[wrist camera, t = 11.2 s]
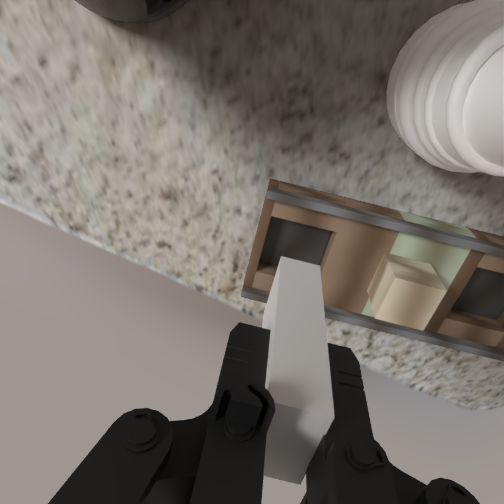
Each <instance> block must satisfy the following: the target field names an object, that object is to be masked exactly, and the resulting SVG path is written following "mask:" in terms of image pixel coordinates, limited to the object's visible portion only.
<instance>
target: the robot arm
mask: <svg viewBox="0 0 504 504" xmlns="http://www.w3.org/2000/svg"><path fill="white" fill-rule="evenodd" d="M75 1H77V2H78V3H79V4H81V5H82V6H84V7H85V8H87V9H89V10H91V11H92V12H94V13H96V14H98V15H101V16H103V17H106V18H109V19H113V20H118V21H125V22H133V23H143V22H151V21H155V20H158V19H161V18H164V17H166V16H168V15H170V14H172V13H174V12H175V11H176V10H178V9H179V8H180V7H182V6H183V5H184V4H185V3H186V2H187V1H188V0H75ZM361 377H362V376H361V370H360V365H359V361H358V360H357V358H356V357H355V355H354V354H353V352H352V350H351V349H350V348H347V347H343V346H339V345H335V344H330V343H327V333H326V323H325V312H324V302H323V292H322V281H321V271H320V266H319V265H315V264H311V263H307V262H303V261H299V260H295V259H291V258H287V257H283V256H281V258H280V261H279V264H278V268H277V271H276V274H275V278H274V281H273V284H272V288H271V291H270V294H269V298H268V301H267V304H266V308H265V311H264V317H263V324H262V328H260V327H256V326H252V325H248V324H244V323H238V325H237V326H236V327H235V328H234V329H233V330H232V331H231V332H230V335H229V340H228V343H227V348H226V351H225V355H224V359H223V364H222V368H221V372H220V376H219V380H218V384H217V388H216V393H215V397H214V401H213V404H212V405H211V406H210V408H209V409H208V410H207V411H206V412H204V413H203V414H202V415H200V416H198V417H195V418H193V419H188V420H179V421H169V420H168V418H167V417H165V416H164V415H163V414H162V413H160V412H159V411H156V410H152V409H149V408H142V409H134V410H132V411H130V412H127V413H124V414H123V415H122V416H121V417H119V418H118V419H117V420H116V421H115V422H114V423H113V424H112V425H111V427H110V428H109V429H108V430H107V432H106V433H105V434H104V435H103V436H102V438H101V439H100V440H99V442H98V443H97V444H96V445H95V446H94V448H93V449H92V450H91V451H90V452H89V454H88V455H87V456H86V457H85V459H84V460H83V461H82V462H81V464H80V465H79V466H78V467H77V469H76V470H75V471H74V472H73V473H72V475H71V476H70V477H69V478H68V480H67V481H66V482H65V483H64V485H63V486H62V487H61V488H60V489H59V491H58V492H57V493H56V495H55V496H54V497H53V498H52V499H51V500H50V502H49V503H48V504H261V499H262V487H263V476H267V477H271V478H275V479H279V480H283V481H288V482H292V483H296V484H301V482H302V480H303V478H304V476H305V474H306V478H307V479H306V480H307V481H306V482H307V492H306V494H305V496H304V498H303V499H302V501H301V503H300V504H480V503H479V502H478V501H477V499H476V498H475V497H474V496H473V495H472V494H471V493H470V492H469V491H468V490H466V489H465V488H464V487H463V486H461V485H459V484H458V483H456V482H454V481H452V480H449V479H443V478H438V479H435V480H432V481H431V482H430V483H429V484H428V485H425V484H424V483H422V482H420V481H418V480H417V479H415V478H413V477H411V476H409V475H408V474H406V473H404V472H402V471H401V470H399V469H398V468H396V467H395V466H393V465H392V464H391V463H390V462H389V460H388V458H387V456H386V453H385V451H384V450H383V448H382V447H381V446H380V445H379V443H378V442H377V441H375V440H374V437H373V433H372V428H371V423H370V418H369V412H368V407H367V402H366V397H365V391H363V389H364V386H363V381H362V379H361Z"/></svg>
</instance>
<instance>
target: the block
mask: <svg viewBox="0 0 504 504" xmlns="http://www.w3.org/2000/svg"><path fill="white" fill-rule="evenodd" d="M367 292H368V295H369V299H370V302H371V306H372V310H373V313H374V317H375V319H379V320H383V321H387V322H391V323H395V324H398V325H402V326H406V327H410V328H414V329H418V330H422V331H423V330H424V329H425V327H426V325H427V324H428V322H429V320H430V319H431V317H432V315H433V314H434V312H435V310H436V309H437V307H438V305H439V304H440V302H441V300H442V299H443V297H444V295H445V294H446V292H447V290H446V288H445V287H444V285H443V283H442V282H441V280H440V278H439V277H438V275H437V274H436V272H435V270H434V269H433V267H432V265H431V264H429V263H425V262H421V261H417V260H413V259H409V258H405V257H402V256H398V255H394V254H390V253H386V252H385V253H384V255H383V257H382V259H381V261H380V264H379V266H378V268H377V270H376V272H375V274H374V276H373V279H372V281H371V283H370V285H369V287H368V289H367Z"/></svg>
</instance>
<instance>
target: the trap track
mask: <svg viewBox="0 0 504 504" xmlns="http://www.w3.org/2000/svg"><path fill="white" fill-rule="evenodd" d="M330 233H331V234H330ZM329 236H330V237H329ZM328 239H329V240H328ZM326 244H327V245H326ZM325 247H326V248H325ZM324 250H325V251H324ZM385 252H386V253H390V254H394V255H398V256H402V257H405V258H409V259H413V260H417V261H421V262H425V263H429V264H431V265H432V267H433V269H434V270H435V272H436V274H437V275H438V277H439V278H440V280H441V282H442V283H443V285H444V287H445V288H446V290H447V292H446V294H445V295H444V297H443V299H442V300H441V302H440V304H439V305H438V307H437V309H436V310H435V312H434V314H433V315H432V317H431V319H430V320H429V322H428V324H427V325H426V327H425V329H424V330H423V331H422V330H418V329H414V328H410V327H406V326H402V325H398V324H395V323H391V322H387V321H383V320H379V319H375V317H374V313H373V310H372V306H371V302H370V299H369V295H368V292H367V289H368V287H369V285H370V283H371V281H372V279H373V276H374V274H375V272H376V270H377V268H378V266H379V264H380V261H381V259H382V257H383V255H384V253H385ZM322 255H323V256H322ZM281 256H283V257H287V258H291V259H295V260H299V261H303V262H307V263H311V264H315V265H319V266H320V271H321V281H322V292H323V302H324V312H325V318H329V319H333V320H337V321H342V322H346V323H350V324H354V325H358V326H362V327H366V328H370V329H374V330H378V331H382V332H386V333H391V334H395V335H399V336H403V337H407V338H411V339H415V340H419V341H423V342H427V343H431V344H435V345H440V346H444V347H448V348H452V349H456V350H460V351H464V352H468V353H472V354H476V355H480V356H484V357H488V358H493V359H497V360H501V361H504V237H502V236H498V235H494V234H490V233H486V232H482V231H478V230H474V229H470V228H466V227H462V226H458V225H454V224H450V223H446V222H442V221H438V220H434V219H430V218H426V217H422V216H418V215H414V214H410V213H406V212H402V211H398V210H394V209H390V208H386V207H382V206H378V205H374V204H370V203H366V202H361V201H357V200H353V199H349V198H345V197H341V196H337V195H333V194H329V193H325V192H321V191H317V190H313V189H309V188H305V187H301V186H297V185H293V184H289V183H285V182H281V181H277V180H273V179H270V181H269V185H268V189H267V193H266V197H265V201H264V205H263V209H262V213H261V217H260V221H259V225H258V229H257V233H256V237H255V241H254V245H253V249H252V253H251V256H250V260H249V264H248V268H247V272H246V276H245V280H244V285H243V289H242V293H241V297H244V298H248V299H252V300H256V301H260V302H264V303H267V301H268V298H269V294H270V291H271V288H272V284H273V281H274V278H275V274H276V271H277V268H278V264H279V261H280V258H281ZM321 258H322V259H321ZM320 261H321V262H320Z"/></svg>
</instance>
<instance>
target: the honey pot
mask: <svg viewBox="0 0 504 504" xmlns="http://www.w3.org/2000/svg"><path fill="white" fill-rule="evenodd" d="M386 95H387V111H388V115H389V118H390V121H391V124H392V127H393V128H394V130H395V131H396V133H397V134H398V135H399V137H400V138H401V140H402V141H403V142H404V143H405V144H406V145H407V146H408V147H410V148H411V149H412V150H413V151H414V152H415V153H416V154H417V155H419V156H420V157H421V158H423V159H424V160H425V161H427V162H428V163H429V164H431V165H434V166H436V167H439V168H442V169H445V170H447V171H451V172H463V173H475V172H484V173H487V174H489V175H492V176H503V177H504V0H475V1H471V2H467V3H463V4H459V5H455V6H452V7H450V8H448V9H446V10H444V11H442V12H441V13H439V14H437V15H435V16H433V17H431V18H430V19H429V20H428V21H427V22H426V23H424V24H423V25H422V26H421V27H420V28H419V29H417V30H416V31H415V32H414V33H413V34H412V36H411V37H410V38H409V40H408V41H407V42H406V44H405V45H404V46H403V48H402V49H401V50H400V52H399V54H398V56H397V58H396V60H395V63H394V65H393V67H392V69H391V71H390V76H389V81H388V86H387V91H386Z"/></svg>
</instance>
